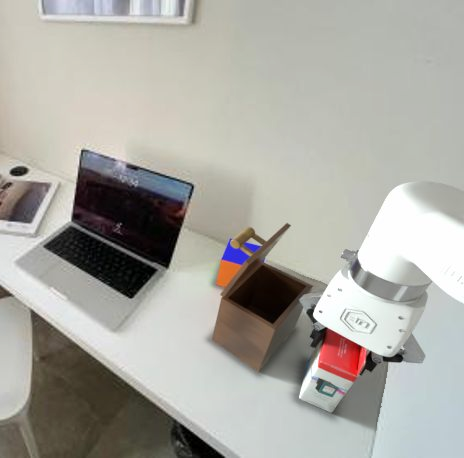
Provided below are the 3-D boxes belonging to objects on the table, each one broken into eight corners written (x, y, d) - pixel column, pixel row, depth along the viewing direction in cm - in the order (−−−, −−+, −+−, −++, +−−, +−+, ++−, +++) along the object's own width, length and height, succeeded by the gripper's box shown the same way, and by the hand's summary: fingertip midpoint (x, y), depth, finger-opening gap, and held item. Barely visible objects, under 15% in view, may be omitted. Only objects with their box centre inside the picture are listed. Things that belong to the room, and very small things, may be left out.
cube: (260, 273, 84) (268, 247, 80) (253, 296, 79) (261, 270, 75) (224, 263, 88) (230, 238, 83) (216, 284, 83) (221, 259, 78)
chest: (293, 329, 72) (313, 285, 64) (258, 372, 66) (275, 329, 58) (247, 303, 78) (260, 260, 70) (211, 340, 72) (221, 297, 64)
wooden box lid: (291, 225, 62) (264, 208, 64) (249, 264, 56) (221, 244, 58) (262, 260, 70) (240, 243, 72) (223, 297, 64) (200, 278, 66)
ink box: (306, 361, 66) (333, 310, 57) (338, 374, 64) (372, 323, 55) (297, 399, 61) (326, 349, 52) (332, 415, 59) (368, 366, 50)
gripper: (302, 257, 50) (271, 335, 61) (473, 332, 38) (397, 412, 49) (326, 232, 53) (292, 311, 64) (489, 294, 42) (415, 377, 53)
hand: (338, 354), depth 56 cm, fingers closed on ink box, 5 cm apart
